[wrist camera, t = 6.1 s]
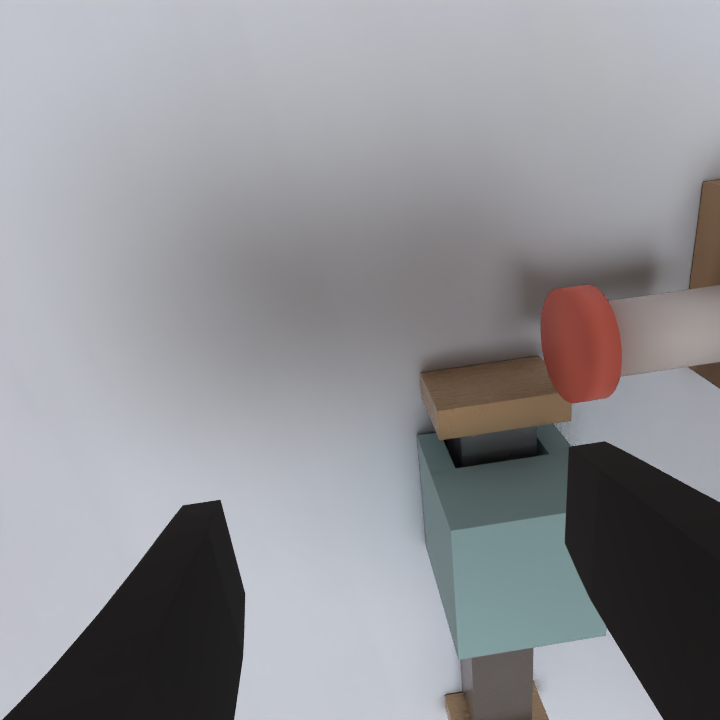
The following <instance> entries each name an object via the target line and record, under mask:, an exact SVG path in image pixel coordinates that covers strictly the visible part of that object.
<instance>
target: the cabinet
mask: <svg viewBox="0 0 720 720" xmlns="http://www.w3.org/2000/svg"><path fill="white" fill-rule="evenodd" d="M717 285H720V180H712V181H705V182H703V188H702V195H701V203H700V211H699V219H698V226H697V234H696V242H695V250H694V257H693V265H692V273H691V281H690V288H689V289H696V288H703V287H710V286H717ZM689 368H690V369H692V370H693V371H695V372H696V373H697V374H699V375H700V376H702V377H703V378H705V379H706V380H708V381H709V382H711V383H712V384H714V385H715V386H717V387H718V388H720V362H716V363H709V364H702V365H696V366H689Z"/></svg>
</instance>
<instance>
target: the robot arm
mask: <svg viewBox="0 0 720 720" xmlns="http://www.w3.org/2000/svg"><path fill="white" fill-rule="evenodd" d="M565 545H566V548H567V550H568V552H569V554H570V557H571V559H572V561H573V563H574V566H575V568H576V570H577V573H578V575H579V577H580V579H581V581H582V583H583V585H584V587H585V590H586V592H587V594H588V596H589V598H590V600H591V602H592V603H593V605H594V607H595V608H596V610H597V612H598V613H599V615H600V617H601V618H602V620H603V622H604V623H605V625H606V627H607V628H608V630H609V632H610V633H611V635H612V637H613V638H614V640H615V642H616V643H617V645H618V646H619V648H620V650H621V651H622V653H623V655H624V656H625V658H626V659H627V661H628V663H629V664H630V666H631V667H632V669H633V671H634V672H635V674H636V676H637V677H638V679H639V680H640V682H641V684H642V685H643V687H644V689H645V690H646V692H647V693H648V695H649V697H650V698H651V700H652V702H653V703H654V705H655V706H656V708H657V710H658V711H659V713H660V715H661V716H662V718H663V719H664V720H720V502H718V501H716V500H714V499H712V498H711V497H709V496H707V495H705V494H703V493H701V492H699V491H697V490H696V489H694V488H692V487H690V486H688V485H686V484H684V483H683V482H681V481H679V480H677V479H675V478H673V477H672V476H670V475H668V474H666V473H664V472H662V471H661V470H659V469H657V468H655V467H653V466H651V465H650V464H648V463H646V462H644V461H642V460H640V459H638V458H637V457H635V456H633V455H631V454H629V453H627V452H625V451H623V450H621V449H619V448H617V447H615V446H613V445H611V444H609V443H607V442H598V443H592V444H585V445H579V446H572V447H569V454H568V477H567V499H566V522H565ZM244 619H245V591H244V588H243V584H242V580H241V576H240V572H239V569H238V565H237V561H236V557H235V553H234V550H233V546H232V542H231V538H230V534H229V531H228V527H227V523H226V519H225V515H224V512H223V508H222V504H221V500H216V501H210V502H203V503H196V504H190V505H183V506H182V507H181V508H180V510H179V511H178V512H177V514H176V515H175V516H174V517H173V519H172V520H171V521H170V522H169V524H168V525H167V526H166V528H165V529H164V530H163V532H162V533H161V534H160V536H159V537H158V538H157V540H156V541H155V542H154V543H153V545H152V546H151V547H150V549H149V550H148V551H147V553H146V554H145V555H144V557H143V558H142V559H141V561H140V562H139V563H138V565H137V566H136V567H135V568H134V570H133V571H132V572H131V574H130V575H129V576H128V577H127V579H126V580H125V581H124V582H123V584H122V585H121V586H120V587H119V589H118V590H117V591H116V593H115V594H114V595H113V596H112V598H111V599H110V600H109V601H108V603H107V604H106V605H105V606H104V608H103V609H102V610H101V611H100V613H99V614H98V615H97V616H96V617H95V619H94V620H93V621H92V622H91V623H90V624H89V626H88V627H87V628H86V629H85V630H84V631H83V633H82V634H81V635H80V636H79V637H78V638H77V640H76V641H75V642H74V643H73V644H72V645H71V646H70V648H69V649H68V650H67V651H66V652H65V653H64V655H63V656H62V657H61V658H60V659H59V660H58V662H57V663H56V664H55V665H54V666H53V667H52V668H51V669H50V671H49V672H48V673H47V674H46V675H45V676H44V677H43V678H42V679H41V680H40V681H39V682H38V684H37V685H36V686H35V687H34V688H33V689H32V690H31V691H30V692H29V693H28V694H27V695H26V696H25V697H24V698H23V699H22V700H21V701H20V702H19V703H18V704H17V705H16V706H15V707H14V708H13V709H12V710H11V711H10V712H9V713H8V714H7V715H6V716H5V717H4V719H3V720H234V716H235V709H236V702H237V695H238V688H239V681H240V675H241V667H242V660H243V646H244Z"/></svg>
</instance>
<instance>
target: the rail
mask: <svg viewBox="0 0 720 720" xmlns="http://www.w3.org/2000/svg"><path fill="white" fill-rule="evenodd" d="M420 376H421V389H422V400H423V402H424V405H425V407H426V410H427V412H428V414H429V417H430V419H431V422H432V424H433V426H434V429H435V431H436V433H437V436H438V438H439V440H445V439H448V446H449V455H450V457H451V460H452V462H453V464H454V467H455V469H456V468H462V467H469V466H476V465H482V464H489V463H495V462H502V461H508V460H515V459H522V458H528V457H535V456H537V426H538V425H545V424H552V423H558V422H565V421H571V406H572V403H569V402H567V401H565V400H564V399H563V398H562V397H561V396H560V395H559V394H558V392H557V391H556V389H555V387H554V385H553V384H552V381H551V379H550V377H549V374H548V371H547V368H546V364H545V362H544V361H543V360H542V359H541V358H540V357H539V356H534V357H527V358H520V359H513V360H507V361H500V362H493V363H486V364H479V365H472V366H465V367H458V368H451V369H444V370H437V371H430V372H424V373H420ZM461 671H462V688H463V692H462V693H456V694H450V695H445V701H446V711H447V715H448V720H549V719H548V716H547V714H546V711H545V709H544V706H543V704H542V701H541V699H540V697H539V694H538V692H537V689H536V687H535V684H534V682H533V648H527V649H521V650H515V651H509V652H503V653H497V654H491V655H485V656H479V657H473V658H467V659H461Z"/></svg>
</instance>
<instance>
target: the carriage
mask: <svg viewBox="0 0 720 720" xmlns="http://www.w3.org/2000/svg"><path fill="white" fill-rule="evenodd" d="M417 443H418V455H419V467H420V479H421V491H422V503H423V515H424V527H425V538H426V548H427V552H428V555H429V559H430V562H431V566H432V569H433V572H434V576H435V579H436V583H437V586H438V590H439V593H440V597H441V600H442V604H443V607H444V611H445V614H446V618H447V621H448V625H449V628H450V632H451V635H452V639H453V642H454V646H455V649H456V652H457V656H458V659H459V660H461V659H467V658H473V657H479V656H485V655H491V654H497V653H503V652H509V651H515V650H521V649H527V648H533V647H539V646H545V645H551V644H557V643H563V642H570V641H576V640H582V639H588V638H594V637H600V636H606V630H607V627H606V625H605V623H604V622H603V620H602V618H601V617H600V615H599V613H598V612H597V610H596V608H595V607H594V605H593V603H592V602H591V600H590V598H589V596H588V594H587V592H586V590H585V587H584V585H583V583H582V581H581V579H580V577H579V575H578V573H577V570H576V568H575V566H574V563H573V561H572V559H571V557H570V554H569V552H568V550H567V548H566V545H565V522H566V499H567V477H568V454H569V447H571V446H570V444H569V443H568V442H567V440H566V439H565V438H564V437H563V435H562V434H561V433H560V432H559V430H558V429H557V428H556V427H555V425H554V424H553V423H552V424H545V425H538V426H537V456H535V457H528V458H522V459H515V460H508V461H502V462H495V463H489V464H482V465H476V466H469V467H462V468H456V469H455V467H454V464H453V462H452V460H451V457H450V455H449V453H448V450H447V448H446V446H445V443H444V441H443V440H439V438H438V436H437V433H430V434H423V435H417Z"/></svg>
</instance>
